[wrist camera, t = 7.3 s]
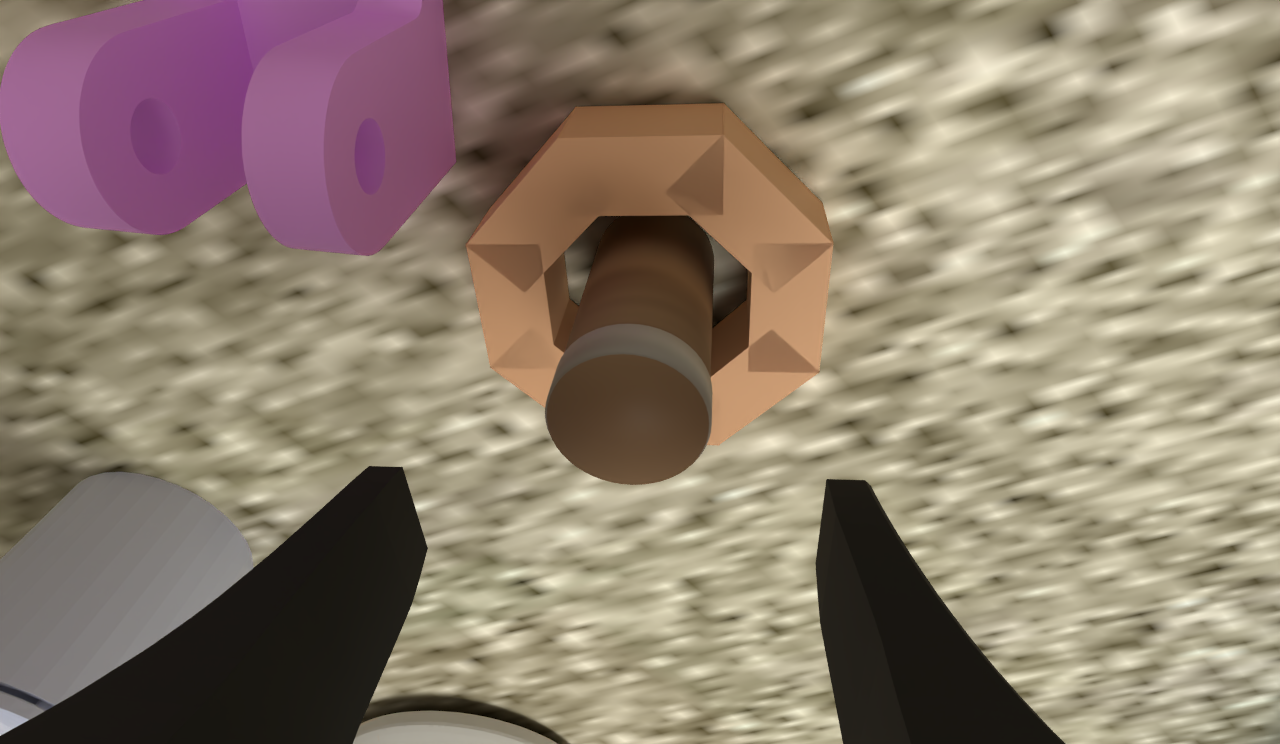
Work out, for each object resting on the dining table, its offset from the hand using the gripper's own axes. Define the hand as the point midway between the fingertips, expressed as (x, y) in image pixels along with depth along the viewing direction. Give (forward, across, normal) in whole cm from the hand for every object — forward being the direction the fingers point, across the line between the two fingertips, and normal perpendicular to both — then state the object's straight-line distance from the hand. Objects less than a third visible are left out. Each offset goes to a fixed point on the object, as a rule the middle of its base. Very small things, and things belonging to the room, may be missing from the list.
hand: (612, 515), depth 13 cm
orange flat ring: (+9, 0, 0) cm, 9 cm away
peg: (+9, 0, 0) cm, 9 cm away
